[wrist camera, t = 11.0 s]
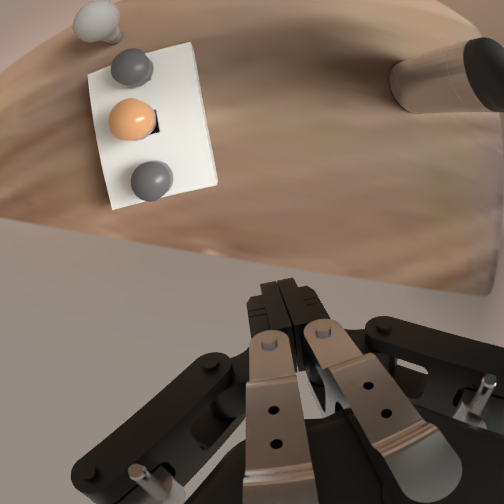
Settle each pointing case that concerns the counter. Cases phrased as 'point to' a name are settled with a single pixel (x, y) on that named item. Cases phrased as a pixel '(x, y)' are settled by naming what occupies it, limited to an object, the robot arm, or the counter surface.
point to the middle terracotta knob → (132, 120)
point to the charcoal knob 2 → (151, 180)
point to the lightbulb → (98, 22)
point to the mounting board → (170, 124)
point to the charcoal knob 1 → (132, 68)
